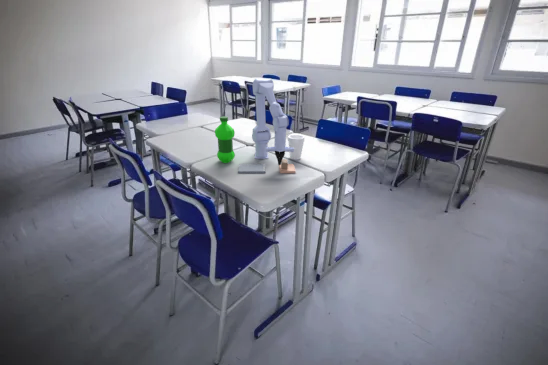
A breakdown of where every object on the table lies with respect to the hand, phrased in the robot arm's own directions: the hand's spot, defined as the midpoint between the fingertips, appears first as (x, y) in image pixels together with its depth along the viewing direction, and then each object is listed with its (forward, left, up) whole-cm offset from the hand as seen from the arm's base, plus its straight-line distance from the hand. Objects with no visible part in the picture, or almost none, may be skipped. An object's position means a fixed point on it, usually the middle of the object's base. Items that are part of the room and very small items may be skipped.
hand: (279, 164), depth 149 cm
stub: (0, +4, -3) cm, 5 cm away
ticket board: (0, -14, -3) cm, 15 cm away
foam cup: (-18, +11, -3) cm, 21 cm away
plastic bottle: (-12, -29, -3) cm, 32 cm away
